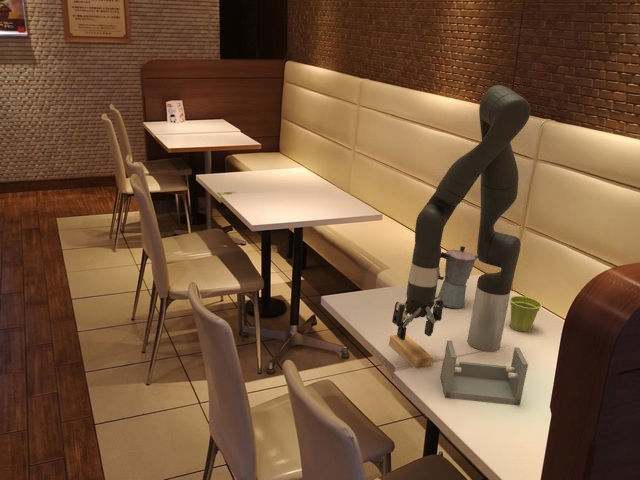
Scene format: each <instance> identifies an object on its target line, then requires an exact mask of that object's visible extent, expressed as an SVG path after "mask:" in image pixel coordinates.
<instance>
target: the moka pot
mask: <svg viewBox="0 0 640 480" xmlns="http://www.w3.org/2000/svg"><path fill="white" fill-rule="evenodd" d="M465 248H466V247H465V246H462V245H461V246H460V248H459V249H448V250H447V251H446V252H443V251H441V257H440V259H441V258H442V259H444V260H445V269H444V276H441V273H440V268H439V277H438V280H441V281H443V282H442V285H441V287H440V290H439V293H438V294H437V295H438V296H437V298H439V299H441V300H442V301H443V307H447V308H451V309H462V308H464V306H465V304H466V303H465V302H466V299H465V298H466V293H467V291H466V290H467V283H468V280H469V278H470V277H471V276H470V275H471V274H472V270H473V268H474V265H475V262H476V260H477V259H478V256H477V254H475V253H472V252H469V251H466V250H465Z"/></svg>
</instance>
